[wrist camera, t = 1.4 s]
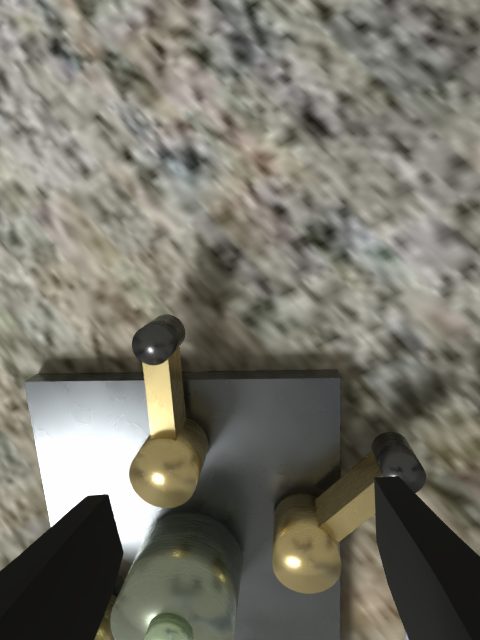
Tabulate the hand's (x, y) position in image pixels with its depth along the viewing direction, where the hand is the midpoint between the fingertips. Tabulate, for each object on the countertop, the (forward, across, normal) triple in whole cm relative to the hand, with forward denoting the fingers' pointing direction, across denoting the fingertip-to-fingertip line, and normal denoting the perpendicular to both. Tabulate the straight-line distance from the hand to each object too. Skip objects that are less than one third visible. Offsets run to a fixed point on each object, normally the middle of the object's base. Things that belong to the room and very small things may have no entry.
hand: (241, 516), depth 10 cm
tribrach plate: (+10, +5, +11) cm, 16 cm away
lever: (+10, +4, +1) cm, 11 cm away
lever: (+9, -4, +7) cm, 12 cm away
